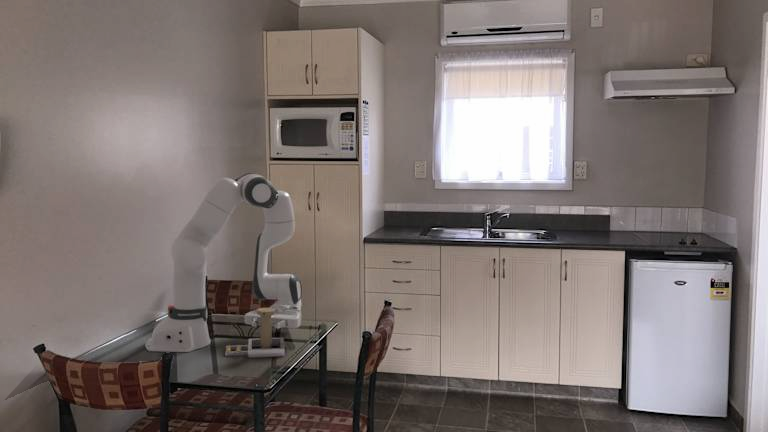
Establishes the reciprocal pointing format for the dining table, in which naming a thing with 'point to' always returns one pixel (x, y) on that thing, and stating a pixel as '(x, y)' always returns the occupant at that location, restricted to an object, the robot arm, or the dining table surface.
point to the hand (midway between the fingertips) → (265, 325)
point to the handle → (266, 326)
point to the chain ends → (257, 352)
